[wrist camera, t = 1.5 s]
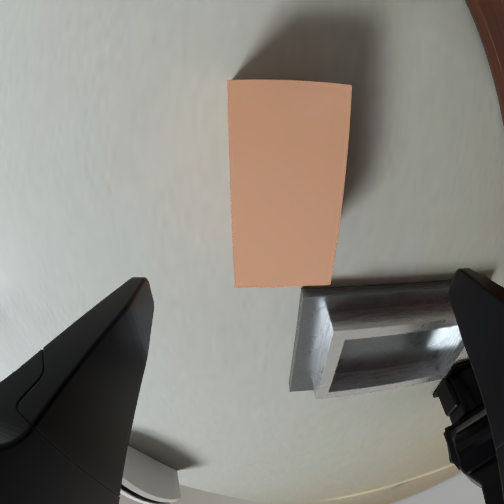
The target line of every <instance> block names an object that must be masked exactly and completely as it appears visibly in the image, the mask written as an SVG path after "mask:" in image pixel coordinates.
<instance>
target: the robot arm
mask: <svg viewBox="0 0 504 504" xmlns="http://www.w3.org/2000/svg"><path fill="white" fill-rule="evenodd" d="M448 297H449V300H450V303H451V306H452V309H453V312H454V315H455V319H456V322H457V325H458V328H459V332H460V335H461V338H462V341H463V343H464V346H465V349H466V351H467V354H468V357H469V359H470V361H468V362H464V363H460V364H456V365H453V366H452V367H451V369H450V370H449V372H448V373H447V375H446V376H445V378H444V379H443V380H442V382H441V383H440V384H439V386H438V387H437V389H436V390H435V392H434V393H433V397H434V398H435V397H439V399H440V401H441V404H442V406H443V409H444V411H445V414H446V415H447V416H449V417H450V420H451V422H452V425H451V426H448V427H446V428H445V432H444V436H445V439H446V442H447V446H448V452H449V460H450V462H451V463H453V464H455V465H456V466H457V468H458V469H459V470H462V472H463V473H464V474H465V475H466V476H467V477H468V478H469V479H470V480H471V481H472V482H473V483H474V484H476V485H477V486H479V487H481V488H482V491H483V494H484V499H485V503H486V504H504V288H503V287H502V286H500V285H498V284H496V283H495V282H493V281H491V280H489V279H488V278H486V277H484V276H482V275H480V274H478V273H477V272H475V271H473V270H471V269H469V268H462V269H458V270H457V271H456V273H455V275H454V278H453V280H452V283H451V285H450V288H449V291H448ZM153 312H154V301H153V297H152V293H151V289H150V285H149V281H148V280H147V278H145V277H133V278H131V279H129V280H128V281H127V282H125V283H124V284H123V285H122V286H120V287H119V288H118V289H116V290H115V291H114V292H112V293H111V294H110V295H109V296H107V297H106V298H105V299H103V300H102V301H101V302H100V303H98V304H97V305H96V306H94V307H93V308H92V309H91V310H89V311H88V312H87V313H86V314H84V315H83V316H82V317H81V318H79V319H78V320H77V321H76V322H74V323H73V324H72V325H71V326H69V327H68V328H67V329H66V330H64V331H63V332H62V333H61V334H60V335H58V336H57V337H56V338H55V339H53V340H52V341H51V342H50V343H49V344H47V345H46V346H45V347H44V348H43V350H40V351H39V352H38V353H37V354H35V355H34V356H33V357H32V358H31V359H29V360H28V361H27V362H26V363H24V364H23V365H22V366H21V367H20V368H18V369H17V370H16V371H14V372H13V373H12V374H11V375H9V376H8V377H7V378H5V379H4V380H3V381H1V382H0V504H119V499H120V497H119V495H120V491H121V485H122V478H123V472H124V466H125V461H126V455H127V450H128V444H129V439H130V434H131V429H132V424H133V419H134V414H135V409H136V405H137V400H138V396H139V391H140V387H141V383H142V378H143V374H144V370H145V366H146V361H147V356H148V349H149V341H150V333H151V326H152V319H153Z"/></svg>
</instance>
